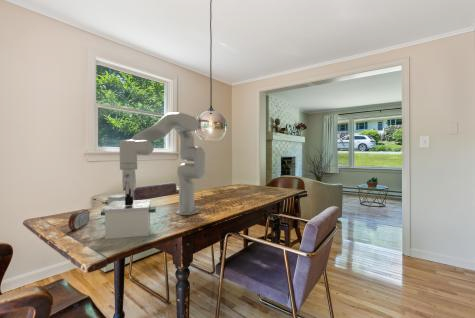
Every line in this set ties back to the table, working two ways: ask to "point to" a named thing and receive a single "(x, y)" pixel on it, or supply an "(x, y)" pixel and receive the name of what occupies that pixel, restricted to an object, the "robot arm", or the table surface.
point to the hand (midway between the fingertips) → (129, 204)
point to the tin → (78, 219)
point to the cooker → (127, 223)
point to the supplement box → (116, 198)
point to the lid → (128, 206)
